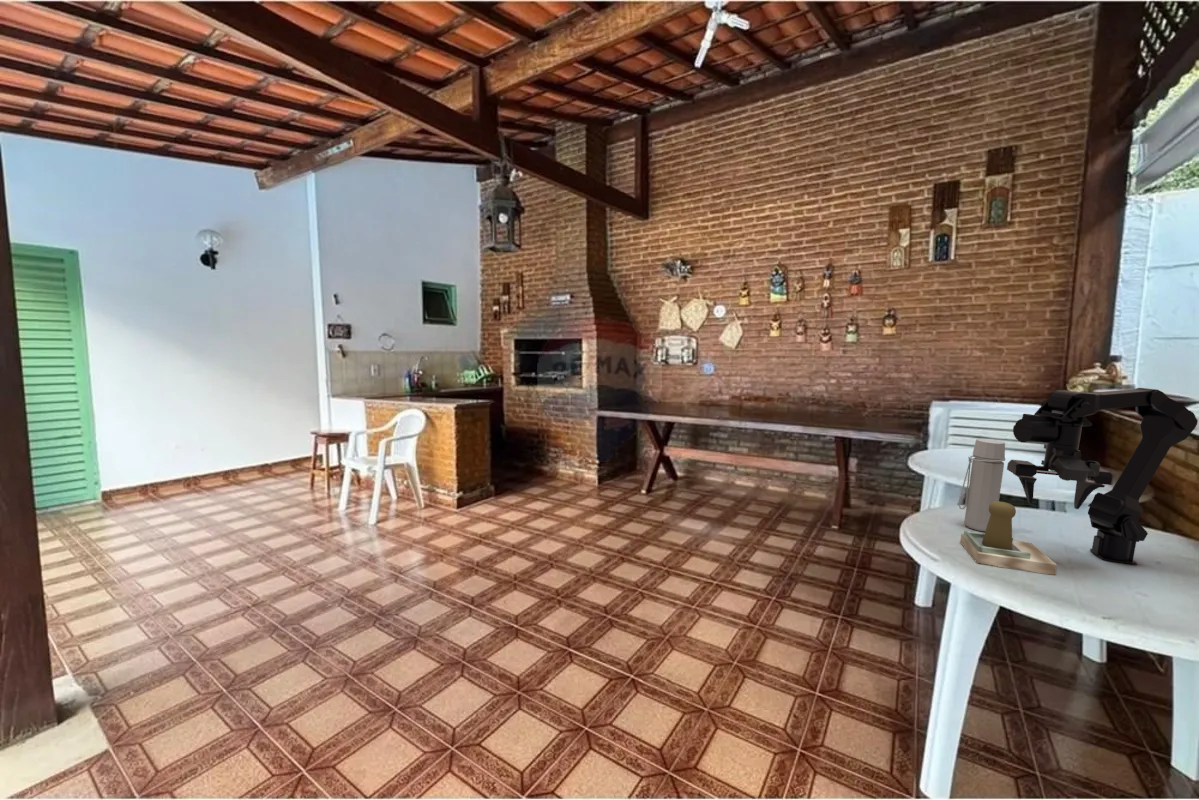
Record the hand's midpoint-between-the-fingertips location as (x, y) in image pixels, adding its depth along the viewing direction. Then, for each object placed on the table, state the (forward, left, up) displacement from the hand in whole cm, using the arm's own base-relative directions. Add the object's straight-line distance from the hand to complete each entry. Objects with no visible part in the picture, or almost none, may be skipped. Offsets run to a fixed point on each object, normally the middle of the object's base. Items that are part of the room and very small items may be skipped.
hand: (1052, 505), depth 126 cm
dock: (+10, +5, -13) cm, 17 cm away
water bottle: (+10, -16, -13) cm, 23 cm away
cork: (+12, +5, -10) cm, 17 cm away
